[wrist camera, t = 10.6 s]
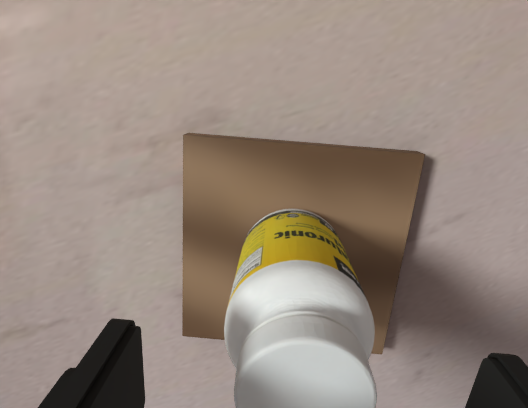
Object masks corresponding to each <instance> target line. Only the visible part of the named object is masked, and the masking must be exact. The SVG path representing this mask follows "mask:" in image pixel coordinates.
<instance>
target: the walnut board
mask: <svg viewBox="0 0 528 408" xmlns="http://www.w3.org/2000/svg"><path fill="white" fill-rule="evenodd" d="M424 157H425V154H423V153H420V152H418V151H407V150H395V149H382V148H370V147H357V146H345V145H333V144H320V143H308V142H295V141H283V140H270V139H258V138H245V137H233V136H220V135H208V134H195V133H187V134H184V135H183V336H188V337H199V338H210V339H221V340H225V337H224V325H225V317H226V311H227V307H228V303H229V299H230V295H231V291H232V287H233V283H234V279H235V275H236V271H237V266H238V262H239V259H240V255H241V251H242V247H243V244H244V241H245V239H246V237H247V235H248V233H249V231H250V230H251V228H252V227H253V226H254V225H255V224H256V223H257V222H258V221H259V220H260V219H262V218H263V217H265V216H266V215H268V214H270V213H272V212H275V211H278V210H282V209H301V210H306V211H309V212H312V213H314V214H316V215H318V216H320V217H322V218H323V219H324V220H325V221H327V222H328V223H329V224H330V225H331V226H332V228H333V229H334V230H335V232H336V233H337V235H338V237H339V238H340V240H341V243H342V245H343V247H344V249H345V252H346V254H347V256H348V258H349V261H350V263H351V265H352V267H353V270H354V272H355V274H356V276H357V279H358V281H359V283H360V285H361V288H362V290H363V292H364V294H365V296H366V299H367V301H368V304H369V307H370V310H371V312H372V316H373V320H374V329H375V336H374V344H373V348H372V352H371V353H373V354H382V352H383V347H384V343H385V338H386V333H387V329H388V324H389V319H390V315H391V310H392V305H393V301H394V296H395V292H396V287H397V282H398V278H399V273H400V268H401V264H402V259H403V254H404V250H405V245H406V240H407V236H408V231H409V226H410V222H411V217H412V212H413V208H414V203H415V199H416V194H417V189H418V185H419V180H420V175H421V171H422V166H423V161H424Z"/></svg>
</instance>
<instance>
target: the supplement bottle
mask: <svg viewBox="0 0 528 408" xmlns="http://www.w3.org/2000/svg"><path fill="white" fill-rule="evenodd" d="M374 336H375V329H374V320H373V316H372V312H371V310H370V307H369V304H368V301H367V299H366V296H365V294H364V292H363V290H362V288H361V285H360V283H359V281H358V279H357V276H356V274H355V272H354V270H353V267H352V265H351V263H350V261H349V258H348V256H347V254H346V252H345V249H344V247H343V245H342V243H341V240H340V238H339V237H338V235H337V233H336V232H335V230H334V229H333V228H332V226H331V225H330V224H329V223H328V222H327V221H325V220H324V219H323V218H322V217H320V216H318V215H316V214H314V213H312V212H309V211H306V210H301V209H282V210H278V211H275V212H272V213H270V214H268V215H266V216H265V217H263V218H262V219H260V220H259V221H258V222H257V223H256V224H255V225H254V226H253V227H252V228H251V230H250V231H249V233H248V235H247V237H246V239H245V241H244V244H243V247H242V251H241V255H240V259H239V262H238V266H237V271H236V275H235V279H234V283H233V287H232V291H231V295H230V299H229V303H228V307H227V311H226V317H225V325H224V337H225V344H226V348H227V351H228V354H229V357H230V359H231V361H232V363H233V364H234V366H235V367H236V369H237V370H236V378H235V386H234V401H235V406H236V408H375V407H376V400H377V392H376V385H375V381H374V378H373V375H372V372H371V369H370V366H369V362H368V359H369V357H370V355H371V352H372V348H373V344H374Z"/></svg>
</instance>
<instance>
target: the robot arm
mask: <svg viewBox="0 0 528 408" xmlns="http://www.w3.org/2000/svg"><path fill="white" fill-rule="evenodd" d="M144 404H145V390H144V373H143V356H142V340H141V328H140V327H139V326H135V322H134V321H133V320H124V319H111V320H110V321H109V322H108V323H107V325H106V326H105V328H104V329H103V330H102V332H101V333H100V335H99V336H98V338H97V339H96V340H95V342H94V343H93V345H92V346H91V347H90V349H89V350H88V352H87V353H86V354H85V356H84V357H83V359H82V360H81V361H80V363H79V364H78V366H77V367H76V368H70V369H68V370H66V371H65V372H64V374H63V375H62V376H61V377H60V378H59V380H58V381H57V383H56V384H55V385H54V387H53V388H52V389H51V391H50V392H49V393H48V395H47V396H46V397H45V399H44V400H43V401H42V403H41V404H40V405H39V407H38V408H144ZM465 408H528V367H527V365H526V364H525V363H524V362H523V361H522V360H521V359H520V358H519V357H518V356H516V355H510V354H499V353H491V354H490V355H489V356H488V358H485V359H483V361H482V363H481V365H480V368H479V371H478V374H477V376H476V379H475V382H474V385H473V387H472V390H471V393H470V396H469V398H468V401H467V404H466V407H465Z"/></svg>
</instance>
